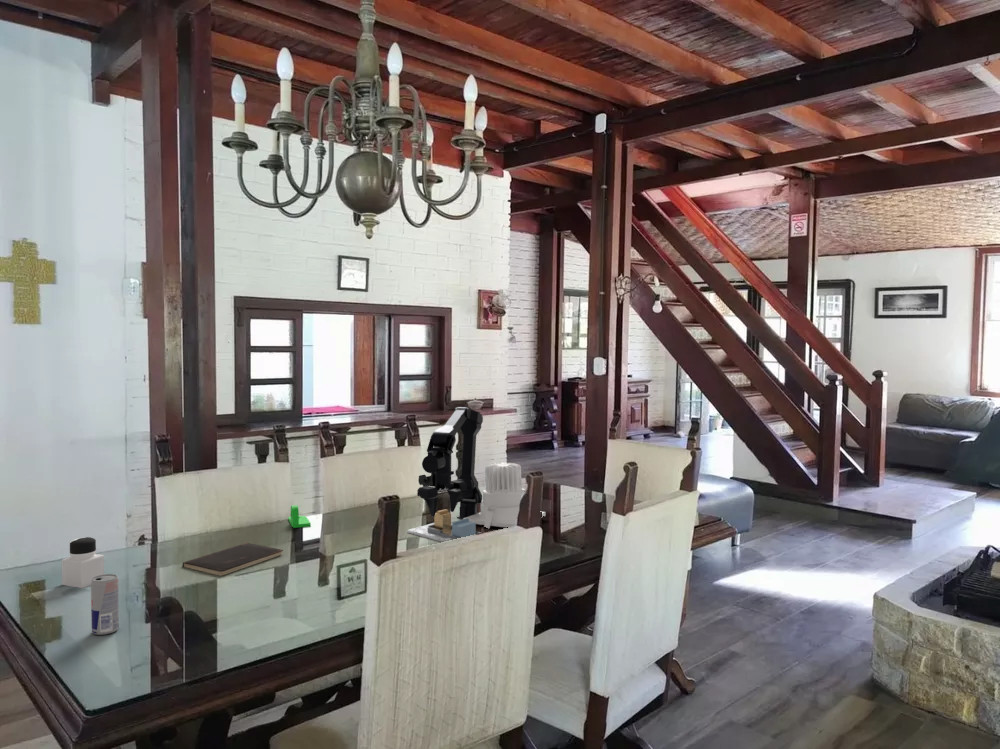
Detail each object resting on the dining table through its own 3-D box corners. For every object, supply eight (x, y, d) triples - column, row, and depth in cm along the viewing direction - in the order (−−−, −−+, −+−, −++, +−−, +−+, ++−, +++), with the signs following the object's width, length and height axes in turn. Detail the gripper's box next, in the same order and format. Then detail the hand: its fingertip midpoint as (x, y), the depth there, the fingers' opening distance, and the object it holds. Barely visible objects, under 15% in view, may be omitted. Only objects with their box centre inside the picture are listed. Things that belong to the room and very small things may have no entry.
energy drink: (98, 626, 165) (97, 574, 164) (123, 625, 165) (122, 573, 165) (87, 635, 159) (86, 581, 159) (112, 635, 160) (111, 581, 159)
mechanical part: (310, 528, 252) (310, 506, 252) (292, 530, 250) (292, 507, 250) (305, 520, 263) (305, 499, 263) (288, 522, 261) (288, 500, 261)
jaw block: (442, 528, 248) (442, 508, 248) (451, 530, 246) (451, 510, 245) (434, 531, 245) (434, 510, 245) (442, 533, 243) (442, 512, 242)
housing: (466, 532, 243) (466, 518, 243) (475, 534, 241) (475, 520, 240) (452, 536, 238) (452, 522, 237) (461, 538, 235) (461, 524, 235)
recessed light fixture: (513, 533, 246) (511, 470, 246) (460, 526, 258) (458, 467, 257) (547, 518, 268) (546, 460, 267) (497, 512, 279) (495, 458, 279)
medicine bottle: (105, 580, 196) (104, 536, 195) (81, 589, 189) (81, 543, 188) (84, 577, 198) (84, 534, 197) (61, 586, 191) (60, 541, 191)
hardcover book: (283, 557, 220) (283, 549, 220) (221, 578, 200) (221, 570, 200) (245, 549, 228) (245, 542, 227) (182, 569, 207) (182, 561, 207)
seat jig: (436, 525, 257) (436, 517, 257) (483, 536, 243) (483, 527, 243) (407, 533, 246) (407, 524, 246) (454, 545, 232) (454, 536, 232)
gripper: (444, 462, 257) (444, 505, 257) (405, 468, 242) (405, 515, 243) (468, 465, 249) (467, 510, 250) (429, 473, 235) (429, 520, 236)
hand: (442, 514), depth 245 cm, fingers open, 9 cm apart
